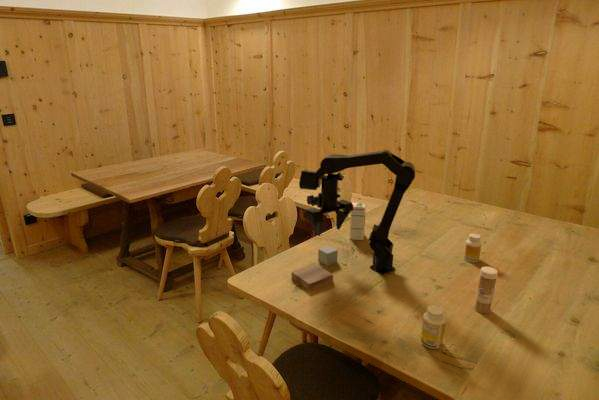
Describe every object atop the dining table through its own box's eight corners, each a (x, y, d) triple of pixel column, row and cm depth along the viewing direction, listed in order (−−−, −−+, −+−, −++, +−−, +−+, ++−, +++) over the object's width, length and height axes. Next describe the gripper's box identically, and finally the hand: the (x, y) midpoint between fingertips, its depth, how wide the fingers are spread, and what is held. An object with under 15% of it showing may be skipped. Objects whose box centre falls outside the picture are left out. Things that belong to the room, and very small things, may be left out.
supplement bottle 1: (435, 335, 110) (440, 302, 106) (446, 348, 104) (451, 315, 101) (416, 337, 109) (420, 304, 105) (426, 351, 103) (430, 317, 100)
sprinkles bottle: (472, 310, 120) (478, 270, 116) (477, 303, 124) (483, 264, 119) (488, 316, 118) (495, 275, 113) (492, 309, 121) (500, 269, 117)
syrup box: (363, 240, 167) (365, 207, 162) (349, 239, 168) (350, 206, 163) (364, 234, 172) (366, 202, 167) (350, 233, 173) (351, 201, 168)
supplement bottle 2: (480, 263, 148) (484, 239, 145) (464, 262, 149) (468, 238, 146) (477, 256, 153) (481, 233, 150) (462, 255, 154) (465, 232, 151)
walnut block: (332, 282, 136) (333, 274, 135) (309, 292, 130) (309, 284, 129) (314, 270, 144) (314, 263, 143) (291, 279, 138) (291, 271, 137)
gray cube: (337, 262, 149) (337, 249, 147) (326, 266, 146) (327, 253, 145) (328, 257, 153) (328, 245, 151) (318, 260, 150) (318, 248, 148)
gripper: (334, 181, 152) (333, 219, 157) (294, 190, 141) (294, 231, 146) (355, 188, 144) (353, 228, 149) (314, 198, 133) (313, 241, 138)
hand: (328, 232), depth 146 cm, fingers open, 9 cm apart
